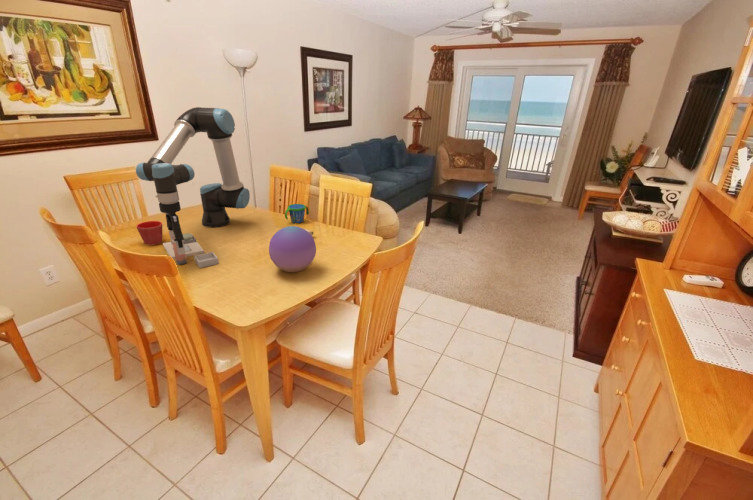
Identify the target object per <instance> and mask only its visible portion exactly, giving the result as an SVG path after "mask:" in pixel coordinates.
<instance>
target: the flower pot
mask: <svg viewBox="0 0 753 500" xmlns="http://www.w3.org/2000/svg"><path fill="white" fill-rule="evenodd" d="M135 228H136V230H137V231H138V233H139V235H140V237H141V239H142V241H143V243H144V244H145V245H147V246H154V245H155V246H156V245H159V244H162V242H163V237H164V235H163V222H162V221H159V220H149V221H144V222H141V223H138V224H136V227H135Z"/></svg>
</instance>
